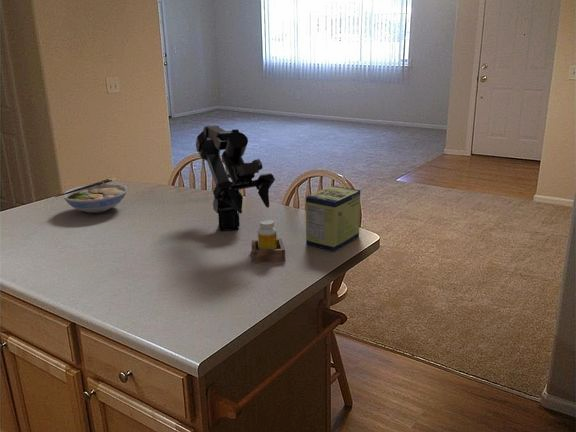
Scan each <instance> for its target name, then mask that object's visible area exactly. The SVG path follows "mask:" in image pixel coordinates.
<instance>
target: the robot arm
mask: <svg viewBox="0 0 576 432" xmlns="http://www.w3.org/2000/svg"><path fill="white" fill-rule="evenodd" d="M195 142H196V143H195V148H196V152H197V153H198V155H199V157H200V158H201V159H202V160H204V161H206V162H207V164H208V167H209V170H210V173H211V175H212V178H213V181H214V183H215V188H214V189H213V196H214V198H213V201H212V208H213V211H215V213H216V214H217V218H218V231H219V232H220V231H221V232H223V231H238V230H239V227H240V226H241V223H240V215H241V214H242V213H243V209H242V208H243V199H244V197H243V195H242V193H241V192H240V190H244V189H249V188H255V189H256V190H258V192H257V193H258V195H259V197H260V199H261V201H262V202H263V204H264V206H265V207H266V208H267V209H268V208H269V207H270V198H269V196H270V195H269V194H270V193H269V192H270V191H269V190H270V188H272V187H271V186H272V185H273V183H274V182H275V181H276V179H275V176H274V175H273V174H272V173H270V172H269V173H263V174H260V175H259V176H258V178H257V179H254V178H255V177H256V176H255V174H258V173H259V171H261V170H263V164H262V162H261V160H260V158H257V159H253V160H252V161H251V162H244V159H243V156H244V154H245V152H246V148H247V146H248V144H249V139H248V136H246V135H245V134H244V133H242V132H240V131H239V128H238V129H235V128H234V129H231V130H225V129H223V128H221V127H220V126H219V125H206V126H204V127H203V130H202V132H200V133H199V134H198V135H197V137H196V141H195ZM221 151H223V152H222V153H221ZM220 155H221V156H220ZM223 163H224V164H223ZM224 166H225V167H224ZM226 170H227V172H226ZM253 179H254V180H253ZM230 180H231V181H230Z"/></svg>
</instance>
